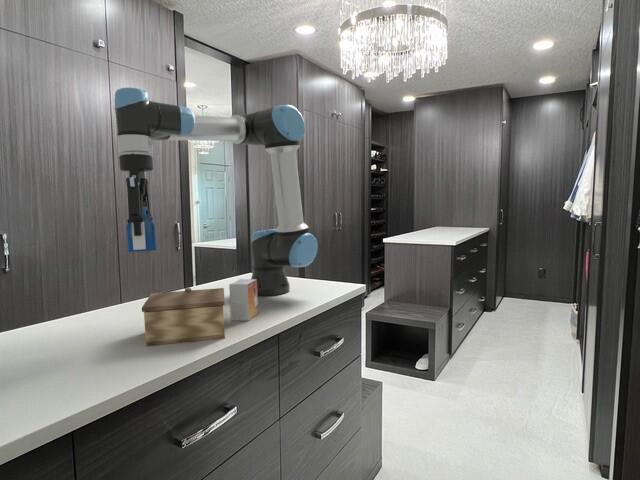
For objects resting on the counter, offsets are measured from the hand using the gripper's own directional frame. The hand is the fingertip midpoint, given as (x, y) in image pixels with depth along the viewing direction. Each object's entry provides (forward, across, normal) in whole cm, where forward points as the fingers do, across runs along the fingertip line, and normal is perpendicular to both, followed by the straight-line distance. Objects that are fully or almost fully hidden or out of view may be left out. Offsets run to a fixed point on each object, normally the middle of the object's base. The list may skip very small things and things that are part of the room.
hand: (142, 247), depth 104 cm
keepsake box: (+23, -2, -10) cm, 25 cm away
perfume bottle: (+1, 0, 0) cm, 1 cm away
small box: (+23, +9, -24) cm, 35 cm away
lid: (+14, -2, -10) cm, 17 cm away
